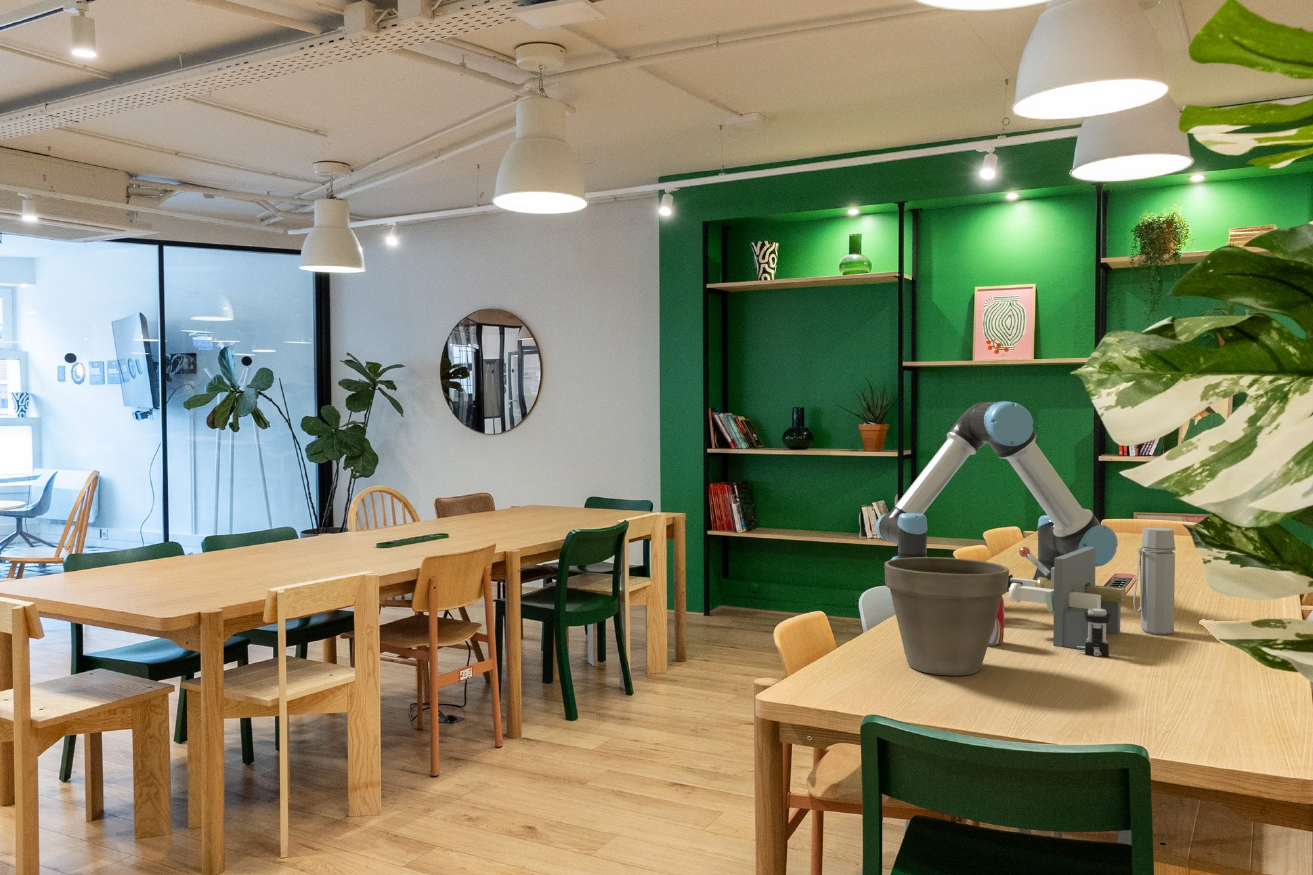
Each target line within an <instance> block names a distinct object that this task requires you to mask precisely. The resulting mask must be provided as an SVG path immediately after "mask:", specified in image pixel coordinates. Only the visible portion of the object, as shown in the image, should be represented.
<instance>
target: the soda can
mask: <svg viewBox="0 0 1313 875" xmlns="http://www.w3.org/2000/svg"><path fill="white" fill-rule="evenodd" d="M1004 635H1005V601H1004V597H1003V596H1002V598H1001V602H1000V606H999V610H998V613H997V617H996V620H995V624H994V627H993V630H992V634H991V637H990V640H989V644H988V646H994V647H995V646H998V645H1000V644H1002V643H1003V641H1004Z"/></svg>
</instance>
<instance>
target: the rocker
mask: <svg viewBox="0 0 1313 875" xmlns="http://www.w3.org/2000/svg"><path fill="white" fill-rule="evenodd" d="M1045 596H1046V602H1047V604H1046V607H1047V612H1054V590H1052V591H1047V592H1045Z"/></svg>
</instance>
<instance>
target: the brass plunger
mask: <svg viewBox="0 0 1313 875" xmlns="http://www.w3.org/2000/svg"><path fill="white" fill-rule="evenodd" d="M1036 587H1037V588H1046V589H1054V582H1051V580H1048V579H1047V578H1043V577H1038V579H1037V581H1036ZM1085 593H1089V594H1097V595H1101V601H1108V602H1117V603H1121V604H1122V603H1124V602H1126V588H1125V587H1116V586H1115V587H1114V586H1105V585H1096V584H1095V585H1089V584H1085Z"/></svg>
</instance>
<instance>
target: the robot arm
mask: <svg viewBox="0 0 1313 875" xmlns="http://www.w3.org/2000/svg"><path fill="white" fill-rule="evenodd" d="M1033 426H1034V419H1033V417H1032V414H1031V413H1030V411H1029V410H1028V409H1027V408H1026V407H1025V406H1023V405H1022V404H1020V403H1017V402H1013V401H1006V400H1003V401H1002V400H1001V401H983V402H978V403H976V404H974V405H971V406H970V407H969V408H968V409H967V410H966V411H964V413H963V414H961V416H960V417H959V418H958V419H957V421H956V422H955V423H954V424H953V425H952V427H951V428H950V429H949V431H948V432H947V433H946V441H945V442H944V443H943V444H942V446H941V447H940V448H939V449H938V451H937V452H936V453H935V455H933V457H932V459H930V461H929V462H928V464H927V465H926V466H925V467H924V468H923V470H922V471H921V472H920V473H919V475H918V476H917V477H916V479H915V480H914V481H913V483H912V484H911V485H910V487H909V488H908V489H907V490H906V492H905V493H904V494H903V495H902V497H901V498H900V499H899V500H898V501H897V503H896V504H895V506H894V507H892V509H891V510H890V512H889V513H887V514H884V515H881V516H880V517H878V519H877V520H876V523H875V531H876V534H877V536H878V537H879V538H880V539H882V540H884V541H886V542H888V543H891V544H895V545H897V547H898V548H897V555H896V556H892V558H891V559H890V560H893V559H900V558H914V557H928V555H927V554H928V553H927V552H928V551H927V550H928V548H927V546H928V545H927V544H928V543H927V542H928V521H927V520H928V519H927V517H926V514H924V513H925V512H926V511H927V510H928V508H929V507H930V506H931V504H932V503H933V502H934V501H935V499H936V498H937V497H938V496H939V494H941V492H942V491H943V489H944V488H945V487H946V486H947V485H948V483H949V482H950V480H951V479H952V478H953V477H954V476H955V474H956V473H957V472H958V470H959V469H960V468H961V467H962V466H963V464H964V463H965V461H966V460H967V459H968V458H969V456H971V455H972V456H973V455H976V453H977V452H978V451H979V449H980V448H981V449H982V447H984V446H985V445H986V444H987V445H989V446H990V447H991V449H992V450H993V452H994V453H995V454H996V456H997V457H998V458H999V459H1003V460H1004V459H1005V460H1007V461H1008V462H1009V464H1010V465H1011V468H1013V470H1014V471H1015V472H1016V474H1017V475H1018V476H1019V478H1020V480H1021V481H1022V482H1023V483H1024V485H1025V486H1026V488H1027V490H1029V491H1030V493H1031V494H1032V496H1033V497H1034V498H1035V500H1036V501H1037V502H1038V504H1039V506H1040V507H1041V508H1042V510H1043V511H1044V512H1045V515H1041V516H1040V517H1039V518H1038V520H1037V521H1038V523H1037V528H1036V529H1037V560H1038V561H1039V562H1041V563H1042V564H1043V565H1044V566H1045V567H1046V568H1047V569H1048V570H1049V571H1050V573H1049V574H1048V575H1047V576H1046V575H1044V574H1043V573H1042V572H1041V571H1040V570H1039V569H1038V568H1037V567H1036V569H1035V572H1034V575H1033V578H1032V579H1027V578H1026V579H1025V578H1019V577H1018V578H1017V577H1014V575H1013V574H1009V578H1008V589H1007V592H1006V593H1008V592H1009V590H1010V586H1011V584H1012V583H1019V584H1021V585H1022V586H1029V587H1036V581H1037V579H1038V577H1043V578H1047V579H1048V580H1051V568H1053V567H1054V558H1056V557H1059V556H1062V555H1065V554H1068V553H1071V552H1074V551H1076V550H1079V549H1082V548H1085V547H1096V564H1095V568H1097V567H1098V568H1099V567H1102V566H1105V565H1107V564H1108V563H1110V561H1112V559H1114V557H1115V555H1116V554H1117V548H1118V546H1119V545H1118V543H1119V542H1118V541H1119V540H1118V536H1117V534H1116V533H1115V531H1114V530H1113V529H1112V528H1111V527H1109V526H1107V525H1105V524H1101V522H1100V521H1099V520H1098V518H1096V516H1095V515H1094V513H1093V512H1092V510H1090V509H1086V508H1082V506H1081V504H1079V502H1078V501H1077V499H1076V498H1075V497H1074V495H1073V493H1072V492H1071V491H1070V489H1069V488H1068V487H1067V485H1066V484H1065V483H1064V480H1063V479H1062V478H1061V476H1060V475H1059V474H1058V473H1057V471H1056V470H1055V468H1054V467H1053V465H1052V464H1051V463H1050V461H1049V459H1048V458H1047V457H1046V456H1045V454H1044V453H1043V451H1042V450H1041V449H1040V448H1039V446H1038V444H1037V443H1036V438H1037V433H1036V432H1035V430H1034V427H1033Z"/></svg>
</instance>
